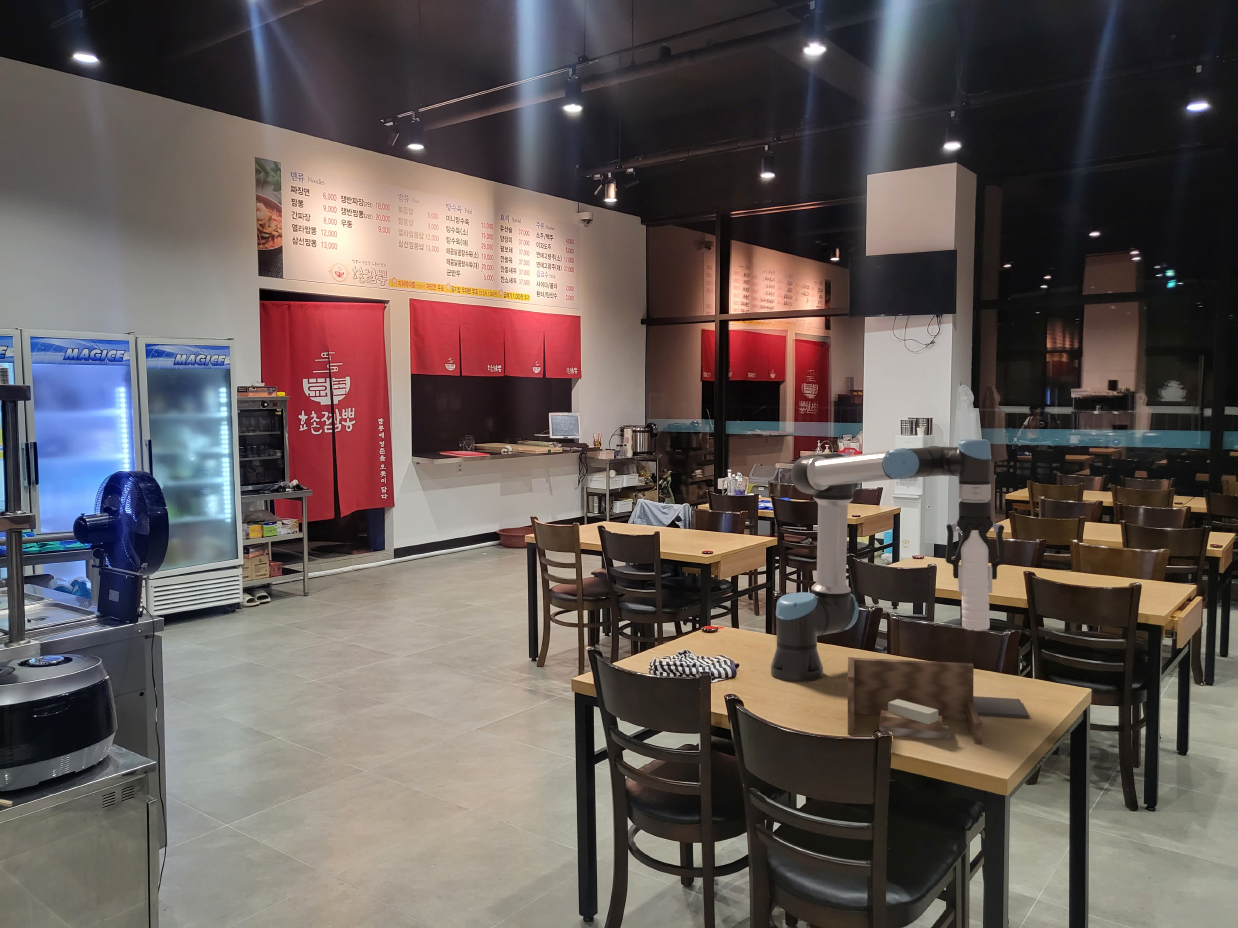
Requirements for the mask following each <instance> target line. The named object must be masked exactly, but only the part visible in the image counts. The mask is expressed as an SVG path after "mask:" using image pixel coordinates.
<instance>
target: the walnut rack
mask: <svg viewBox="0 0 1238 928" xmlns="http://www.w3.org/2000/svg"><path fill="white" fill-rule="evenodd" d="M974 668H975V667H974V663H971V662H970V663H967V662H950V661H933V660H932V661H931V660H910V659H907V660H906V659H890V658H871V657H868V658H867V657H852V656H851V657H850V656H848V657H847V735H852V736H854V735H855V714H856V715H857V714H858V715H871V716H872V715H873V716H875V715H876V716H880V714H881V711H888V702H891V701H894V700H896V699H900V700H903V701H907V702H911V703H914V704H918V705H922V706H926V707H929V708H933V709H937V710H938V716H942V720H945V721H947V720H948V721H960V722H961V721H964V722H967V726H968V729H969V731H970V734H971V736H972V740H973V742H974V745H975V744H976V745H982V743H983V742H982V741H983V740H982V739H983V738H982V730H983V729H982V727H983V724H982V720H981V718H980V715H978V712H977V710H976V707H975V705H974V702H973V696H974Z"/></svg>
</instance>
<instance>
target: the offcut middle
mask: <svg viewBox="0 0 1238 928" xmlns="http://www.w3.org/2000/svg"><path fill="white" fill-rule="evenodd" d="M879 722H880V726H885V727H896V728H906V729H916V730H927V731H938V732H942V726H943V719H942V716H938V721H936V722H933V723H931V724H926V723H922V722H919V721H915V720H912V719H908V718H905V717H901V716H898V715H894V714H891V713H888V711H881V714H880V715H879Z"/></svg>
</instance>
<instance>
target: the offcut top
mask: <svg viewBox="0 0 1238 928" xmlns="http://www.w3.org/2000/svg"><path fill="white" fill-rule="evenodd" d="M888 713H891V714H894V715H898V716H901V717H905V718H908V719H912V720H915V721H919V722H922V723H926V724H931V723H933V722H936V721H938V710H937V709H933V708H929V707H926V706H922V705H918V704H914V703H911V702H907V701H903V700H900V699H896V700H894V701H891V702H888Z"/></svg>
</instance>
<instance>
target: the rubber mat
mask: <svg viewBox="0 0 1238 928" xmlns="http://www.w3.org/2000/svg"><path fill="white" fill-rule="evenodd" d="M973 702H974V705H975V707H976V710H977V712H978V715H979V716H985V717H986V716H987V717H997V718H998V717H1000V718H1001V717H1003V718H1013V719H1014V718H1016V719H1017V718H1018V719H1029V718H1030V717H1029V716H1030V715H1029V713H1028V712H1027V710H1026V708H1025V706H1024V705H1023V703H1022V701H1021V699H1020V698H1010V697H1009V698H1008V697H992V696H979V695H978V696H974V695H973Z"/></svg>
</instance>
